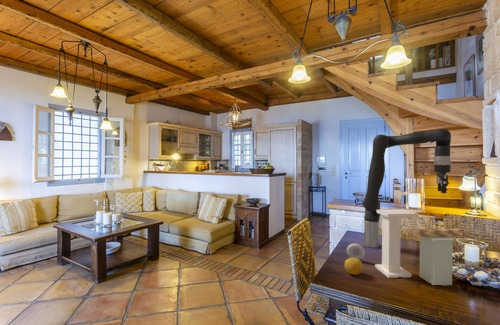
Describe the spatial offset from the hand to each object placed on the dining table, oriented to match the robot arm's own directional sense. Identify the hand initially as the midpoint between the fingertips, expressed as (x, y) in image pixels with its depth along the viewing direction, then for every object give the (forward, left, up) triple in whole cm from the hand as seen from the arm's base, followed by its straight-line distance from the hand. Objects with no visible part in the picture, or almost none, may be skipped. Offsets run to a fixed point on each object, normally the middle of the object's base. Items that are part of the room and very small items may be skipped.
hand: (441, 192), depth 140 cm
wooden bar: (-8, -28, -18) cm, 34 cm away
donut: (-44, -20, -40) cm, 63 cm away
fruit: (-44, -38, -40) cm, 71 cm away
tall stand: (-24, -26, -40) cm, 53 cm away
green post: (-8, -28, -40) cm, 50 cm away
